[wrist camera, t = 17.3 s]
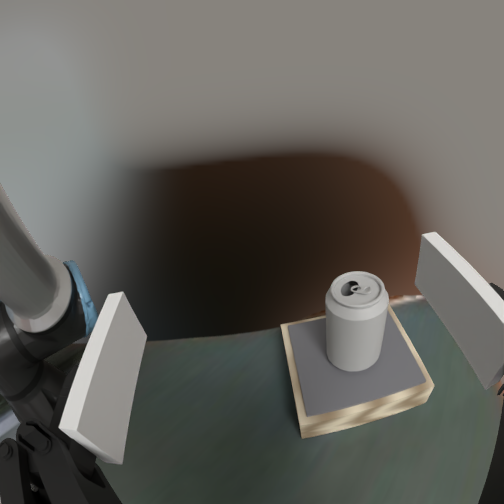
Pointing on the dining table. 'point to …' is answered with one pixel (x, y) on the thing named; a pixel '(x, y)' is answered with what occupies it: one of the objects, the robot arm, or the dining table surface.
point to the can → (355, 320)
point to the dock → (351, 379)
